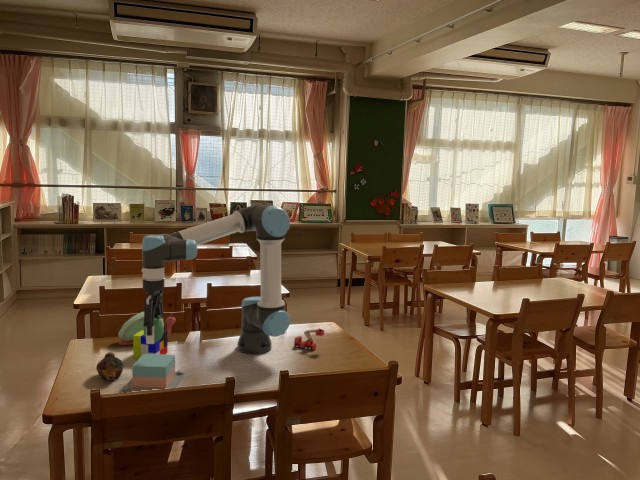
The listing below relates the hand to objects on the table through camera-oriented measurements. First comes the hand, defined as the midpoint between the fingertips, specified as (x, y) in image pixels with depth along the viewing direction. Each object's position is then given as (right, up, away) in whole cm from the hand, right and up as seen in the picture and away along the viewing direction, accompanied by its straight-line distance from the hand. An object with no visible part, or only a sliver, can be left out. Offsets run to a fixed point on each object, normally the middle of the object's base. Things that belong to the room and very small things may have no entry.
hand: (153, 339), depth 194 cm
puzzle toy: (-11, -12, +29) cm, 34 cm away
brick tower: (-1, -17, +3) cm, 17 cm away
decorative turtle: (-18, -16, +6) cm, 25 cm away
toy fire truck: (+55, -13, +44) cm, 72 cm away
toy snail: (-17, -10, +47) cm, 51 cm away
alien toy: (0, -1, 0) cm, 1 cm away
